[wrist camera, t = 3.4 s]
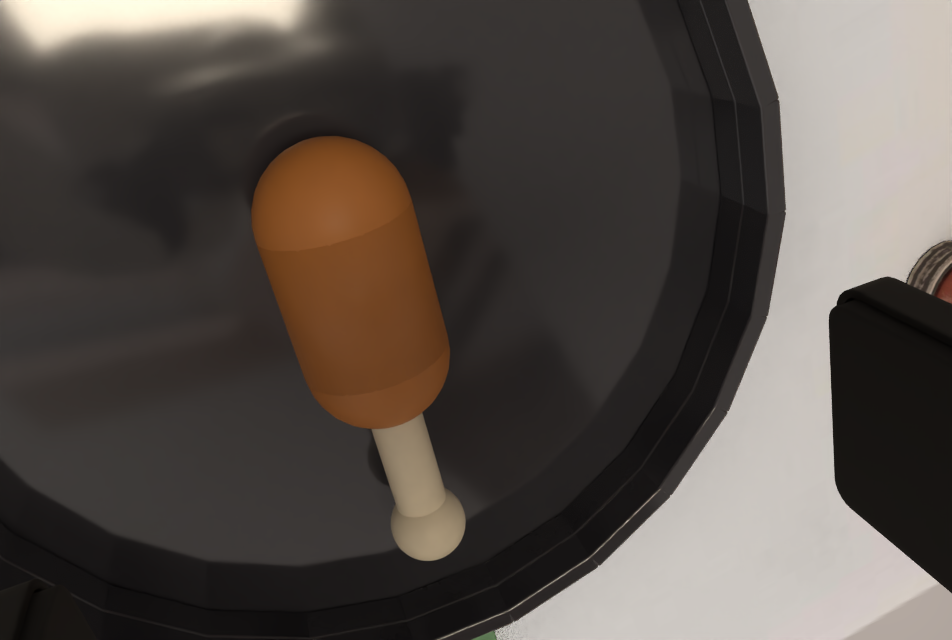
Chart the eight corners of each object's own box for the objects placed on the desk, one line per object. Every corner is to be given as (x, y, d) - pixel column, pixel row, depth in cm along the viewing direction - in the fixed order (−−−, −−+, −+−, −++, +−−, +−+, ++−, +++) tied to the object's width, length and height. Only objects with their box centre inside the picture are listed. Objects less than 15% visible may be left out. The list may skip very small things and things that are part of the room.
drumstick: (478, 491, 22) (519, 566, 19) (363, 535, 22) (388, 619, 19) (373, 105, 18) (407, 131, 15) (225, 148, 17) (229, 182, 14)
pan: (81, 722, 22) (68, 806, 20) (-448, -124, 13) (-578, -144, 11) (751, 457, 25) (804, 504, 23) (678, -347, 17) (751, -395, 15)
